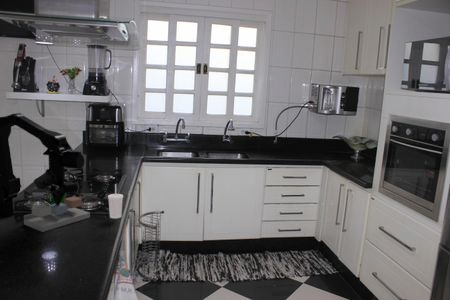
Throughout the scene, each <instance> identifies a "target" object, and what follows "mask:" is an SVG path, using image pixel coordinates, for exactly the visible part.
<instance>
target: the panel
mask: <svg viewBox="0 0 450 300" xmlns="http://www.w3.org/2000/svg"><path fill="white" fill-rule="evenodd" d="M89 218H91V212H89V211H86V210H83V209H80V208H78V207H75V208H69V207H67V212H66V213H62V214H59V215H54V214H52V213H51V214H50V215H46V216H43V217H37V216H34V215H32V213H29V214H24V215H23V225H26V226H27V227H29V228H32V229H35V230H37V231H39V232H40V233H41V232H42V233H43V232H47V231H51V230H53V229H56V228H59V227H62V226H63V227H64V226H66V225H70V224H74V223H76V222H79V221H83V220H86V219H89Z"/></svg>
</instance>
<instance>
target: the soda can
mask: <svg viewBox="0 0 450 300" xmlns="http://www.w3.org/2000/svg"><path fill="white" fill-rule="evenodd" d="M64 183H66V182H64ZM66 194H67V193H65V195H64V197H63V199H62V201H61V203H63V204H64V199H66V198H67V196H66ZM46 197H47V201H46V202H48V203H49V204H55V201H54V199H53V196H52V194H51V192H50V191H49V190H47V189H46Z"/></svg>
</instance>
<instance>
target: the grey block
mask: <svg viewBox="0 0 450 300" xmlns="http://www.w3.org/2000/svg"><path fill="white" fill-rule="evenodd" d="M31 214H32V215H34V216H37V217H43V216H46V215H50V214H51V207H50V206H49V205H48V204H44V203H41V204H38V205H35V206H31Z"/></svg>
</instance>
